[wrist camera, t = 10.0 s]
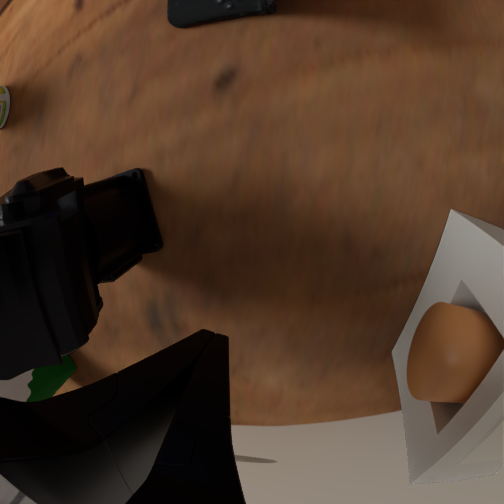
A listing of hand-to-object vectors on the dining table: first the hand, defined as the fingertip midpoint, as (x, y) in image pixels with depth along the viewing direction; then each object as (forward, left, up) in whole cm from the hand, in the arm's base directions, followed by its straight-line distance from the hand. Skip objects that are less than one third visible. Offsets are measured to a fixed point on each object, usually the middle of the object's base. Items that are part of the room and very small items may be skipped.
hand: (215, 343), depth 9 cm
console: (+7, +13, -12) cm, 19 cm away
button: (+6, +10, -7) cm, 13 cm away
